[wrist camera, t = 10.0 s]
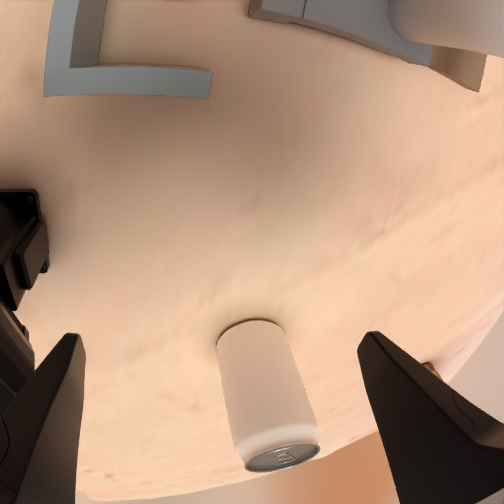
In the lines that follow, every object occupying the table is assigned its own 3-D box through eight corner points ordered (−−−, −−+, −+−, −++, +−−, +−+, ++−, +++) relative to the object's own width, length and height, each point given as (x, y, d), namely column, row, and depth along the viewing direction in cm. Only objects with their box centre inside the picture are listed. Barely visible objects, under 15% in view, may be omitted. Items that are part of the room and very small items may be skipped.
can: (275, 307, 27) (321, 433, 18) (290, 348, 31) (329, 455, 22) (204, 332, 27) (225, 462, 18) (229, 369, 31) (253, 478, 22)
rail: (372, 42, 16) (384, 42, 15) (382, -4, 14) (394, -6, 13) (466, 88, 19) (478, 92, 18) (474, 50, 17) (487, 53, 16)
